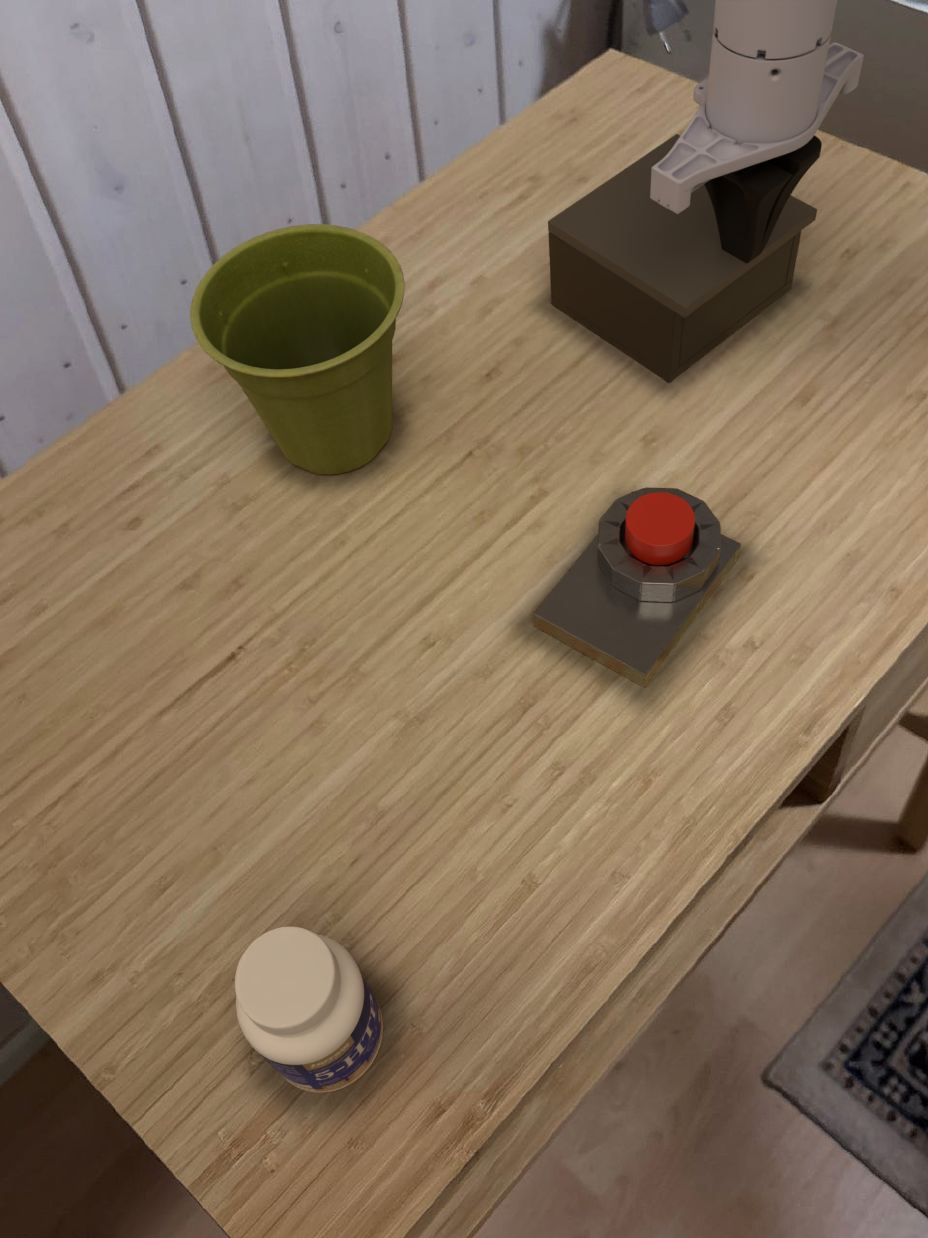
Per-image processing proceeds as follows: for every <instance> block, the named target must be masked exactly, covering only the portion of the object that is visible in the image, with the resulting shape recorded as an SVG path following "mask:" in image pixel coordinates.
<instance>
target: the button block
mask: <svg viewBox="0 0 928 1238" xmlns="http://www.w3.org/2000/svg"><path fill="white" fill-rule="evenodd" d="M655 492H665V493H671V494H674V495H676V496H679V497H680V498H682V499H684V500H685V501H686V502H687V503H688V504H689V505H690V506H691V508H692V510H693V512H694V515H695V526H694V534H693V543H692V546H691V548H690V550H689V552H688V553H687V554H686V555H685V556H684V557H683V558H682V559H680V560H678V561H676V562H674V563H671V564H667V565H652V564H648V563H645V562H643V561H641V560H639V559H637V558H636V557H635V556H634V555H633V554H632V553H631V552H630V551H629V549H628V548H627V545H626V541H625V527H626V514H627V511H628V509H629V507H630V506H631V504H632V503H633V502H634V501H635V500H636V499H638V498H639V497H641V496H643V495H646V494H649V493H655ZM597 530H598V531H597V534H596V535H595V537H594V538H593V539H592V541H591V542H590V543H589V544H588V545H587V547H585V549H584V550H583V551H582V553H581V554H580V555H579V556H578V558H577V559H576V560H575V562H573V564H572V565H571V567H569V569H568V570H567V572H565V573H564V575H563V576H562V578H561V579H560V580H559V581H558V583H557V584H556V585H555V586H554V587H553V589H552V590H551V591H550V592H549V593H548V594H547V596H546V597H545V599H544V600H543V601H542V602H541V604H539V606H538V607H537V608H536V610H535V611H534V613H533V614H532V615H533V626H534V627H535V628H536V629H538V630H540V631H541V632H544V633H546V634H547V635H549V636H551V637H553V638H554V639H556V640H558V641H560V642H562V643H563V644H565V645H567V646H568V647H571V648H572V649H574V650H576V651H578V652H580V653H581V654H583V655H585V656H587V657H589V658H590V659H592V660H594V661H596V662H598V664H599V663H600V664H601V665H603V666H604V667H607V668H608V669H610V670H612V671H614V672H616V673H617V674H619V675H621V676H623V677H624V678H627V679H628V680H630V681H632V682H633V683H636V684H637V685H639V686H641V687H643V688H645V687H646V686H647V684H648V683H650V681H651V680H652V678H653V676H654V675H655V674H656V672H658V669H660V667H661V665H662V664H663V662H664V661H665V660H666V659H667V657H668V656H669V654H670V653H671V652H672V650H673V649H674V647H675V646H676V645H677V643H678V642H679V640H680V639H681V638H682V637H683V635H684V634H685V632H686V631H687V630H688V628H689V627H690V625H691V624H692V623H693V621H694V620H695V619H696V617H697V616H698V614H699V613H700V612H701V610H702V609H703V608H704V606H705V605H706V603H707V602H708V601H709V599H710V598H711V596H712V595H713V594H714V593H715V591H716V590H717V588H718V587H719V585H720V584H721V583H722V581H723V580H724V578H725V577H726V576H727V575H728V573H729V572H730V570H731V569H732V567H734V565H735V564H736V562H737V561H738V559H739V558H740V554H741V548H742V543H741V542H739V541H736V540H734V539H733V538H730V537H729V536H726V535H724V534H722V526H721V522H720V520H719V519H718V518H717V517H716V515H715V514H714V513H713V511H712V510H711V508H710V507H709V505H708V504H707V503H706V501H704V500H703V499H700V498H699V497H696V496H694V495H692V494H690V493H688V492H685V491H683V490H682V489H679V488H677V487H676V488H675V487H647V486H646V487H642V488H640V489H637V490H635V491H631V492H630V493H627V494H625V495H623V496H621V497H619V498H617V499H615V500H614V501H613V502H612V504H611V505H610V506H609V507H608V509H607V510H605V512H604V514H602V515H601V517H600V519H599V520H598V529H597Z"/></svg>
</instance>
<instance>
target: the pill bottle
mask: <svg viewBox="0 0 928 1238" xmlns="http://www.w3.org/2000/svg"><path fill="white" fill-rule="evenodd" d="M234 975H235V976H234V990H235V995H236V997H235V1012H236V1018H237V1022H238V1025H239V1027H240V1030H241V1032H242V1034H243V1035H244V1037H245V1039H246V1040H247V1042H248V1043H249V1045H250V1046H251V1047H252V1049H254V1051H256V1052H257V1053H258V1054H259V1055H260V1056H261V1057H262V1058H263V1059H264V1060H265V1061H266V1062H267V1063H268V1064H269V1065H270V1066H271V1067H272V1068H273V1069H274V1070H275V1071H276V1072H277V1073H278V1074H279V1075H280V1076H281V1077H282V1078H283V1079H284V1080H286V1081H287V1083H290V1084H291V1085H292V1086H294V1087H296V1088H298V1089H300V1090H303V1091H306V1092H311V1093H331V1092H335V1091H340V1090H342V1089H344V1088H346V1087H348V1086H350V1085H351V1084H353V1083H354V1082H356V1081H358V1079H360V1078H361V1077H362V1076H363V1075H364V1074H365V1073H366V1072H367V1071H368V1070H369V1068H370V1067H371V1066H372V1064H373V1063H374V1061H375V1059H376V1057H377V1055H378V1053H379V1051H380V1047H381V1045H382V1041H383V1033H384V1022H383V1015H382V1011H381V1006H380V1004H379V1002H378V1000H377V998H376V996H375V994H374V992H373V991H372V989H371V987H370V985H369V983H368V981H367V979H366V978H365V976H364V974H363V973H362V970H361V969H360V967H359V965H358V963H357V962H356V960H355V959H354V957H353V956H352V954H351V953H350V952H349V951H348V950H347V949H346V947H344V946H343V945H342V944H341V943H339V942H338V941H337V940H334V939H333V938H330V937H329V936H325V935H323V934H320V933H315V932H314V931H311V930H310V929H307V928H304V927H299V926H290V925H288V926H281V927H276V928H274V929H271V930H268V931H266V932H264V933H262V934H261V935H259V936H258V937H257V938H256V939H255V940H253V941H252V942H251V943H250V944H249V945H248V947H246V949H245V950H244V952H243V953H242V955H241V957H240V959H239V961H238V964H237V967H236V970H235V974H234Z"/></svg>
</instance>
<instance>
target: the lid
mask: <svg viewBox="0 0 928 1238" xmlns="http://www.w3.org/2000/svg"><path fill="white" fill-rule="evenodd" d="M680 136H681V134H678V133H676V134H674V135H672V136H671V137H669V138H668V139H667V140H665V141H664V142H662V143H661V144H659V145H658V146H657V147H655V148H654V149H652V150H651V151H649V152H647V153H646V154H645V155H643V156H641V157H640V158H638V159H637V160H636V161H634V162H633V163H631V164H629V165H628V166H627V167H626V168H623V170H621V171H619V172H618V173H617V174H615V175H613V176H612V177H611V178H609V179H608V180H606V181H605V182H603V183H602V184H600V185H599V186H598V187H595V189H593V190H592V191H590V192H588V193H586V194H585V196H582V197H581V198H579V199H578V200H577V201H575V202H574V203H572V204H571V205H569V206H567V208H565V209H563V210H562V211H560V212H558V213H557V214H556V215H555V216H553V217H552V218H550V219H549V220H548V221H547V232H548V233H549V232H550V233H552V234H553V235H555V236H556V237H558V238H559V239H561V240H563V241H564V242H566V243H567V244H569V245H571V246H572V247H574V248H575V249H577V250H578V251H580V252H582V253H583V254H585V255H586V256H588V257H589V258H591V259H593V260H594V261H596V262H597V263H599V264H601V265H602V266H604V267H605V268H607V269H608V270H610V271H612V272H613V273H615V274H616V275H618V276H619V277H621V278H623V279H624V280H626V281H627V282H629V283H631V284H632V285H634V286H635V287H637V288H638V289H640V290H642V291H643V292H645V293H646V294H648V295H649V296H651V297H653V298H654V299H656V300H657V301H659V302H660V303H662V304H664V305H665V306H667V307H668V308H670V309H672V310H673V311H675V312H676V313H678V314H679V315H681V316H683V317H684V318H686V317H687V316H688V315H690V314H691V313H692V312H694V311H695V310H696V309H698V308H699V307H700V306H702V305H703V304H704V303H706V302H707V301H708V300H710V299H711V298H712V297H714V296H715V295H716V294H718V293H719V292H720V291H722V290H723V289H724V288H726V287H727V286H728V285H730V284H731V283H732V282H734V281H735V280H736V279H738V278H739V277H740V276H741V275H743V274H744V273H745V272H747V271H748V270H749V269H751V268H752V267H753V266H755V265H756V264H757V263H759V262H760V261H761V260H763V259H764V258H765V257H767V256H768V255H769V254H771V253H772V252H773V251H775V250H776V249H777V248H779V247H780V246H781V245H783V244H784V243H785V242H787V241H788V240H789V239H791V238H792V237H793V236H795V235H796V234H797V233H799V232H800V231H801V230H802V231H804V229H806V228H807V227H808V226H809V225H811V224H812V223H813V222H815V221H816V220H817V219H816V218H817V213H818V209H817V208H816V207H814V206H812V205H810V204H808V203H807V202H805V201H803V200H801V199H799V198H797V197H796V196H793V195H792V194H791V195H790V197H789V198H788V200H787V202H786V204H785V206H784V208H783V210H782V212H781V214H780V216H779V218H778V220H777V222H776V224H775V227H774V229H773V231H772V233H771V236H770V238H769V240H768V242H767V244H766V246H765V248H764V250H763V251H762V253H761V254H760V255H759V256H757V257H756V258H754V259H753V260H752V261H750V262H749V263H745V262H743V261H741V260H739V259H738V258H736V257H734V256H733V255H731V254H729V253H727V252H726V251H724V250H722V247H721V242H720V236H719V231H718V225H717V221H716V216H715V212H714V209H713V205H712V202H711V199H710V197H709V194H708V192H707V189H706V187H705V185H704V184H703V185H702V186H700V187H699V188H698V189H696V190H695V191H693V192H692V193H691V198H690V205H689V207H687V208H686V209H685V210H683V211H682V212H680V213H679V214H676V213H675V212H673V211H671V210H669V209H667V208H665V207H663V206H662V205H660V204H659V203H657V202H656V201H654V200H652V199H651V198H650V189H651V170H652V167H653V166H654V165H655V164H657V163H658V162H659V161H661V160H662V159H663V158H664V157H665V156H666V155H667V154H668V153H669V151H670V150H671V149H672V147H673V146H674V144H675V143H676V142H677V140H678V139H679V137H680ZM802 231H801V232H802Z"/></svg>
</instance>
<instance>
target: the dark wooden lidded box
mask: <svg viewBox="0 0 928 1238" xmlns="http://www.w3.org/2000/svg"><path fill="white" fill-rule="evenodd" d="M802 231H803V230H801V231H800V232H799V233H797V234H796V235H795V236H793V237H792V238H791V239H789V240H788V241H787V242H785V243H784V244H783V245H781V246H780V247H779V248H777V249H776V250H775V251H773V252H772V253H771V254H769V255H768V256H767V257H765V258H764V259H763V260H761V261H760V262H759V263H757V264H756V265H755V266H753V267H752V268H751V269H749V270H748V271H747V272H745V273H744V274H743V275H741V276H740V277H739V278H738V279H736V280H735V281H734V282H732V283H731V284H730V285H728V286H727V287H726V288H724V289H723V290H722V291H720V292H719V293H718V294H716V295H715V296H714V297H712V298H711V299H710V300H708V301H707V302H706V303H704V304H703V305H702V306H700V307H699V308H698V309H696V310H695V311H694V312H692V313H691V314H690V315H688V316H687V317H686V318H684V317H683V316H681V315H679V314H678V313H676V312H675V311H673V310H672V309H670V308H668V307H667V306H665V305H664V304H662V303H660V302H659V301H657V300H656V299H654V298H653V297H651V296H649V295H648V294H646V293H645V292H643V291H642V290H640V289H638V288H637V287H635V286H634V285H632V284H631V283H629V282H627V281H626V280H624V279H623V278H621V277H619V276H618V275H616V274H615V273H613V272H612V271H610V270H608V269H607V268H605V267H604V266H602V265H601V264H599V263H597V262H596V261H594V260H593V259H591V258H589V257H588V256H586V255H585V254H583V253H582V252H580V251H578V250H577V249H575V248H574V247H572V246H571V245H569V244H567V243H566V242H564V241H563V240H561V239H559V238H558V237H556V236H555V235H553V234H552V233H550V232H549V231H548V232H547V235H548V257H549V258H548V260H549V278H550V279H549V282H550V283H549V284H550V304H551V305H552V306H553V307H555V308H557V309H558V310H559V311H561V312H563V313H564V314H566V315H567V316H568V317H570V318H572V319H573V320H574V321H576V322H577V323H579V324H581V325H582V326H584V327H585V328H586V329H588V330H589V331H591V332H592V333H594V334H595V335H597V336H598V337H600V338H601V339H603V340H605V341H606V342H607V343H609V344H610V345H612V346H613V347H615V348H616V349H618V350H619V351H621V352H622V353H624V354H625V355H627V356H628V357H630V358H631V359H632V360H634V361H636V362H637V363H639V364H640V365H642V366H643V367H644V368H646V369H648V370H649V371H651V372H652V373H654V374H655V375H657V376H658V377H660V378H661V379H662V380H664V381H666V382H667V383H671V382H672V381H674V380H675V379H676V378H677V377H679V376H680V375H682V374H683V373H684V372H685V371H687V370H688V369H690V368H691V367H692V366H693V365H694V364H696V363H697V362H698V361H700V360H701V359H702V358H704V357H705V356H706V355H707V354H709V353H710V352H711V351H713V350H714V349H716V347H718V346H719V345H720V344H721V343H723V342H725V340H727V339H728V338H730V337H731V336H732V335H733V334H735V333H736V332H737V331H739V330H740V329H741V328H743V326H745V325H746V324H748V323H749V322H750V321H751V320H753V319H754V318H755V317H757V316H758V315H760V314H761V313H762V312H763V311H764V310H766V309H767V308H768V307H770V306H771V305H773V304H774V303H775V302H777V301H778V300H779V299H780V298H781V297H783V296H784V295H785V294H786V293H788V292H789V291H790V290H792V287H793V282H794V275H795V270H796V263H797V258H798V253H799V247H800V242H801V236H802Z"/></svg>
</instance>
